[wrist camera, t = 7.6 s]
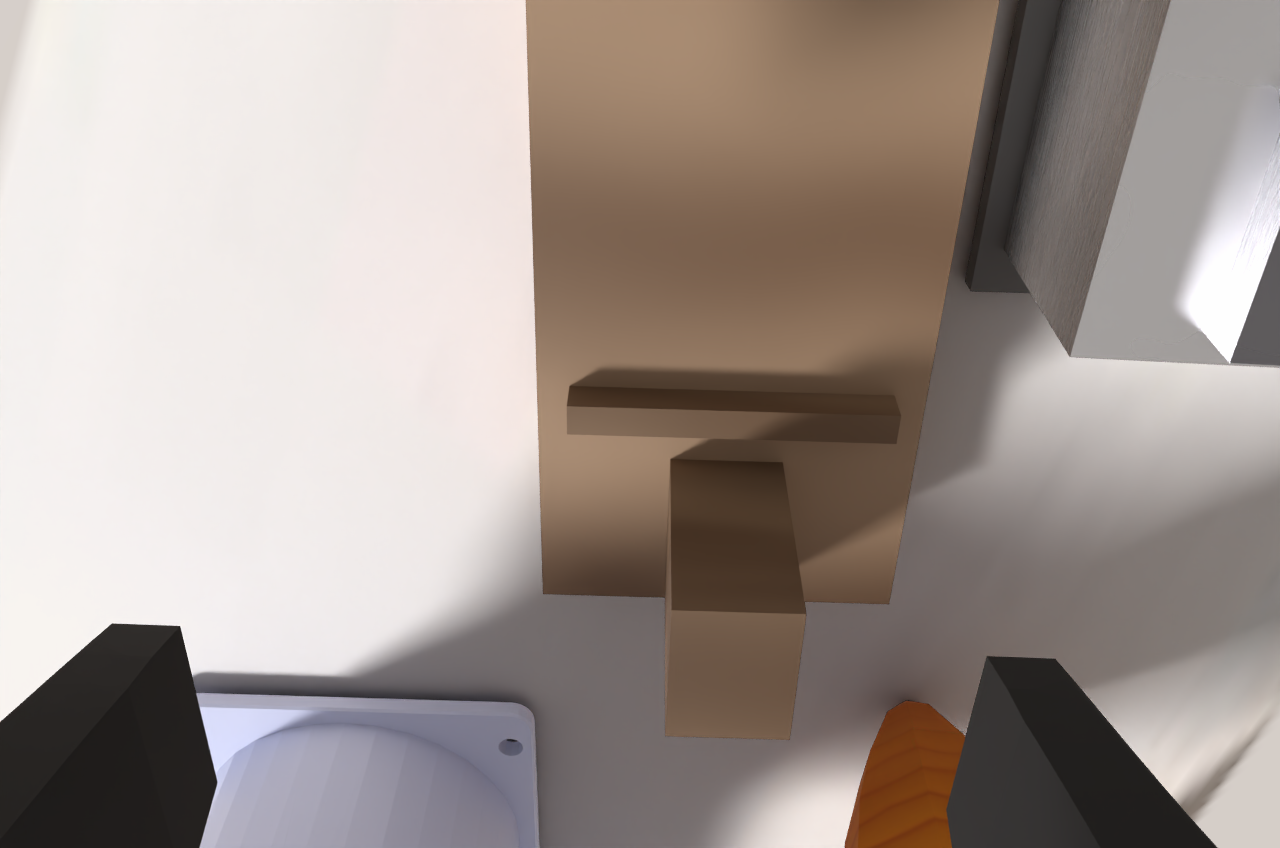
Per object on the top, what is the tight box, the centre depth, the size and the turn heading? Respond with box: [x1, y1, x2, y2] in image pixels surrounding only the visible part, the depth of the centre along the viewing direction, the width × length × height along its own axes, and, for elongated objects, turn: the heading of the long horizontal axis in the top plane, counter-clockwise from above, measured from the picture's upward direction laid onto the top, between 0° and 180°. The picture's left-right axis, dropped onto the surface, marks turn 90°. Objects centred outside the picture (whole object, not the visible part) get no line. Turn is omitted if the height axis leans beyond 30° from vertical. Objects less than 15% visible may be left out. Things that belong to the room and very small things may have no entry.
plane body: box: [526, 0, 1000, 740], centre depth 16 cm, size 12×6×6 cm, turn 179°
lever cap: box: [1004, 0, 1280, 368], centre depth 15 cm, size 6×4×4 cm
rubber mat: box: [965, 0, 1062, 293], centre depth 17 cm, size 7×6×1 cm
